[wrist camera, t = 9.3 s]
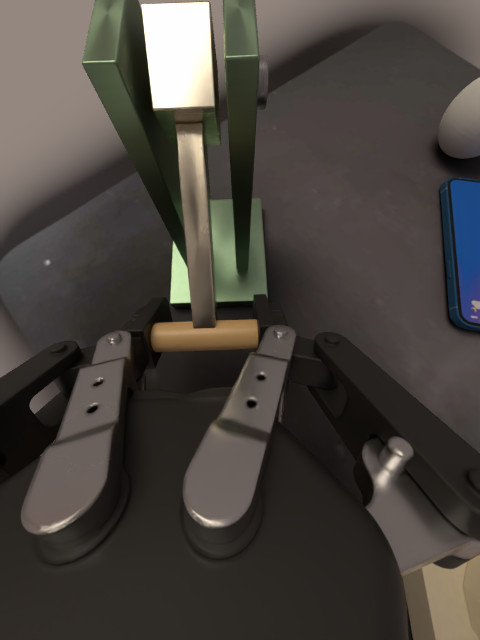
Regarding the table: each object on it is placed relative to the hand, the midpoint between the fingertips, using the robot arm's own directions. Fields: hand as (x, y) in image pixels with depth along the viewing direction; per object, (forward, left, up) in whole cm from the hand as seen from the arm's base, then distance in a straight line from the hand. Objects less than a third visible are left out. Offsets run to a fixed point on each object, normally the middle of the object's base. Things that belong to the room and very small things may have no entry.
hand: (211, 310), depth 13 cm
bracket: (+2, +7, -5) cm, 9 cm away
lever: (+1, +3, +3) cm, 5 cm away
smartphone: (+24, -2, -5) cm, 25 cm away
